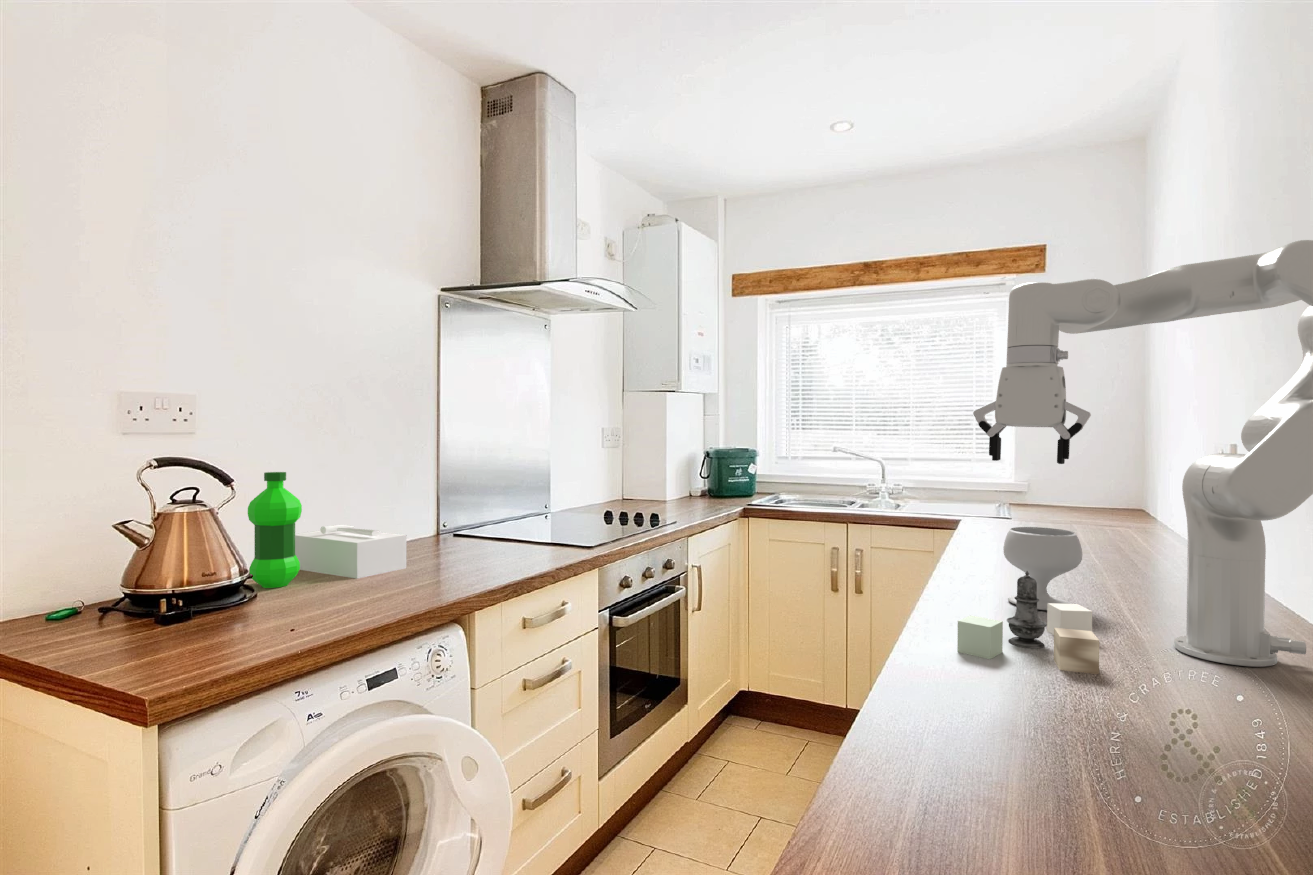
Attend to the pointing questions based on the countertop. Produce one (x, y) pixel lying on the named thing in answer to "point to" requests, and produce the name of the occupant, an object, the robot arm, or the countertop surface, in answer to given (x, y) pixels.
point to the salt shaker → (1026, 615)
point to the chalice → (1042, 556)
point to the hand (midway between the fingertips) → (1027, 462)
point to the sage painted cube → (980, 637)
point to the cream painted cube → (1068, 617)
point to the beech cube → (1076, 650)
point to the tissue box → (350, 551)
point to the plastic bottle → (274, 533)
